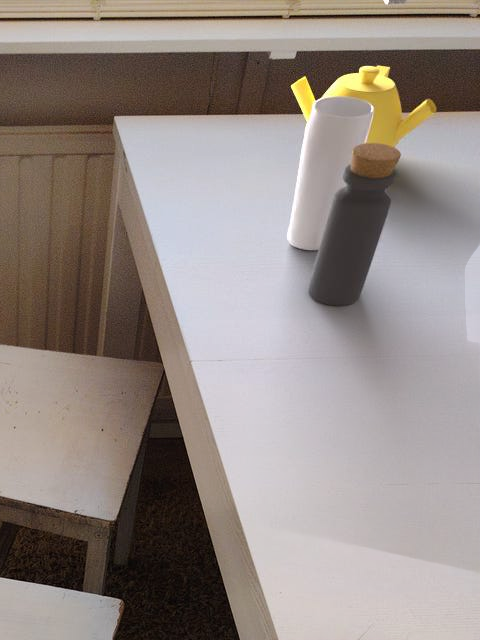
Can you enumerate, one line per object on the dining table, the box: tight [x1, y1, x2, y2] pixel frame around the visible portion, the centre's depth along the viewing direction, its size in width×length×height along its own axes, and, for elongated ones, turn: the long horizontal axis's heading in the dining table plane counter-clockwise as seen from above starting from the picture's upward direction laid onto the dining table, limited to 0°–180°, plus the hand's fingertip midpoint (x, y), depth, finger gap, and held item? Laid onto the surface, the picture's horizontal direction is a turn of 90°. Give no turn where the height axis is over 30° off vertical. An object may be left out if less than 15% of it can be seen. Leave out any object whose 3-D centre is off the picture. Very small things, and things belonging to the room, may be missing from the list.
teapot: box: [290, 65, 437, 148], centre depth 114 cm, size 20×18×11 cm
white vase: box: [286, 96, 374, 251], centre depth 97 cm, size 7×7×15 cm
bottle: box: [307, 143, 402, 307], centre depth 89 cm, size 6×6×15 cm
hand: (450, 1), depth 70 cm, fingers open, 8 cm apart
